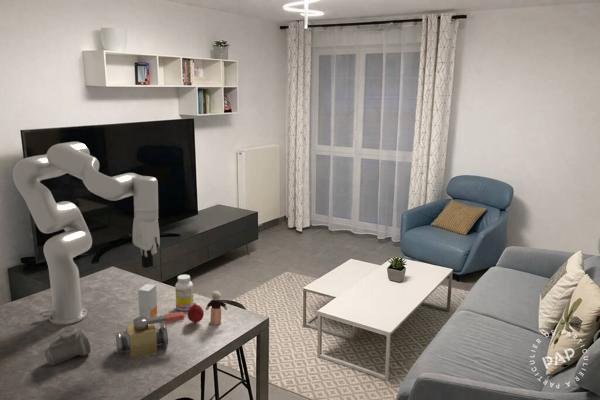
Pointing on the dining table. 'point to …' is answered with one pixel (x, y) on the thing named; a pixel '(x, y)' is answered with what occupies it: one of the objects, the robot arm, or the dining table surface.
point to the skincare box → (147, 301)
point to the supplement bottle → (184, 293)
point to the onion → (195, 313)
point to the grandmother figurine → (216, 308)
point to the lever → (156, 320)
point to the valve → (141, 340)
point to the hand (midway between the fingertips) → (147, 266)
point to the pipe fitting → (67, 346)
